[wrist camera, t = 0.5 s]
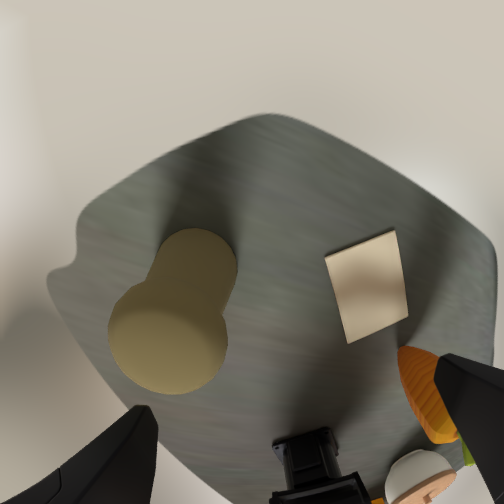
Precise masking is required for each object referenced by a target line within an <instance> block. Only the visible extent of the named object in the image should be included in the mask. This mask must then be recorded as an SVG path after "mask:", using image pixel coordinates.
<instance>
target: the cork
mask: <svg viewBox="0 0 504 504" xmlns="http://www.w3.org/2000/svg"><path fill="white" fill-rule="evenodd" d="M236 276H237V263H236V258H235V256H234V254H233V252H232V249H231V247H230V246H229V245H228V244H227V243H226V242H225V241H224V240H223V239H222V238H221V237H220V236H218V235H216V234H215V233H213V232H211V231H209V230H204V229H199V228H190V229H182V230H180V231H178V232H176V233H174V234H172V235H170V236H169V237H168V238H167V239H166V240H165V241H164V242H163V243H162V245H161V247H160V249H159V251H158V253H157V255H156V257H155V259H154V262H153V264H152V266H151V268H150V271H149V273H148V275H147V277H146V280H145V281H144V282H141V283H139V284H137V285H135V286H133V287H131V288H130V289H129V290H128V291H127V292H126V293H125V294H124V295H123V296H122V297H121V299H120V300H119V301H118V302H117V303H116V304H115V306H114V309H113V312H112V314H111V317H110V320H109V324H108V342H109V345H110V349H111V351H112V354H113V357H114V359H115V362H116V363H117V364H118V366H119V367H120V368H121V370H122V371H123V372H124V374H125V375H127V376H128V377H129V378H130V379H131V380H133V381H134V382H135V383H136V384H138V385H140V386H142V387H144V388H146V389H148V390H150V391H154V392H158V393H163V394H184V393H187V392H191V391H194V390H196V389H198V388H200V387H201V386H203V385H204V384H206V383H207V382H209V381H210V380H212V379H213V377H214V376H215V375H216V373H217V372H218V370H219V369H220V368H221V366H222V364H223V362H224V359H225V355H226V350H227V346H228V336H227V330H226V324H225V320H224V318H223V316H222V314H223V312H224V309H225V307H226V304H227V302H228V299H229V297H230V295H231V292H232V290H233V287H234V285H235V281H236Z"/></svg>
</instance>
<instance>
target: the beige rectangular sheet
mask: <svg viewBox="0 0 504 504" xmlns="http://www.w3.org/2000/svg"><path fill="white" fill-rule="evenodd" d="M324 258H325V261H326V265H327V268H328V272H329V275H330V279H331V282H332V286H333V289H334V293H335V297H336V301H337V304H338V308H339V312H340V316H341V320H342V324H343V328H344V332H345V336H346V340H347V343H348V344H349V343H351V342H354V341H356V340H358V339H361V338H363V337H365V336H367V335H370V334H372V333H374V332H376V331H379V330H381V329H383V328H385V327H387V326H389V325H391V324H393V323H395V322H397V321H400V320H402V319H404V318H406V317H408V308H407V300H406V292H405V285H404V278H403V271H402V265H401V259H400V254H399V248H398V243H397V238H396V233H395V231H394V230H392V231H390V232H387V233H385V234H382V235H380V236H377V237H375V238H372V239H370V240H367V241H365V242H362V243H360V244H357V245H355V246H352V247H350V248H347V249H345V250H342V251H340V252H337V253H334V254H332V255H329V256H327V257H324Z"/></svg>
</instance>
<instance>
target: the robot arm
mask: <svg viewBox="0 0 504 504" xmlns="http://www.w3.org/2000/svg"><path fill="white" fill-rule="evenodd" d="M433 379H434V383H435V385H436V388H437V390H438V392H439V394H440V396H441V398H442V400H443V403H444V405H445V407H446V409H447V412H448V414H449V416H450V418H451V420H452V421H453V423H454V425H455V427H456V428H457V430H458V432H459V434H460V435H461V437H462V439H463V441H464V443H465V444H466V446H467V448H468V450H469V452H470V454H471V456H472V457H473V459H474V461H475V463H476V465H477V467H478V469H479V471H480V473H481V475H482V477H483V479H484V481H485V483H486V485H487V487H488V489H489V492H490V494H491V496H492V498H493V500H494V501H495V502H494V503H495V504H504V370H501V369H498V368H495V367H492V366H489V365H485V364H482V363H479V362H476V361H473V360H470V359H466V358H463V357H460V356H457V355H454V354H451V353H448V354H445V355H443V356H440V357H439V359H438V361H437V365H436V369H435V372H434V378H433ZM157 442H158V424H157V421H156V419H155V417H154V415H153V413H152V411H151V409H150V407H149V406H147V405H135V406H133V407H132V408H131V409H130V410H129V411H128V412H126V413H125V414H124V415H123V416H122V417H121V418H119V419H118V420H117V421H116V422H114V423H113V424H112V425H111V426H110V427H108V428H107V429H106V430H105V431H104V432H102V433H101V434H100V435H99V436H98V437H96V438H95V439H94V440H93V441H91V442H90V443H89V444H88V445H86V446H85V447H84V448H83V449H82V450H80V451H79V452H78V453H76V454H75V455H74V456H73V457H71V458H70V459H69V460H68V461H67V462H65V463H64V464H63V465H61V466H60V468H57V469H56V470H55V471H53V472H52V473H51V474H50V475H48V476H47V477H45V478H44V479H42V480H41V481H40V482H38V483H36V484H35V485H33V486H31V487H30V488H28V489H27V490H25V491H23V492H21V493H20V494H18V495H16V496H14V497H12V498H10V499H8V500H7V501H5V502H3V503H0V504H150V498H151V492H152V487H153V481H154V476H155V469H156V456H157ZM272 449H273V451H274V452H275V454H276V455H277V457H278V458H279V460H280V461H281V463H282V464H283V466H284V471H285V477H286V483H287V490H286V491H280V492H278V491H276V492H272V498H270V499H269V504H372V502H371V499H370V497H369V495H368V492H367V490H366V488H365V486H364V484H363V482H362V480H361V478H360V476H359V474H358V472H357V471H356V472H353V473H352V474H349V475H346V476H343V477H342V475H341V472H340V468H339V465H338V462H337V459H336V456H338V455H339V453H338V450H337V448H336V445H335V442H334V439H333V436H332V433H331V430H330V428H328V427H326V428H323V429H320V430H317V431H314V432H311V433H308V434H305V435H302V436H299V437H295V438H292V439H289V440H285V441H281V442H278V443H274V444H273V445H272Z"/></svg>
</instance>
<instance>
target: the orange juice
mask: <svg viewBox="0 0 504 504" xmlns="http://www.w3.org/2000/svg"><path fill="white" fill-rule="evenodd" d="M371 502H372V504H384V501H383V499H382V498H379V499H376V500H372V501H371Z"/></svg>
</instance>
